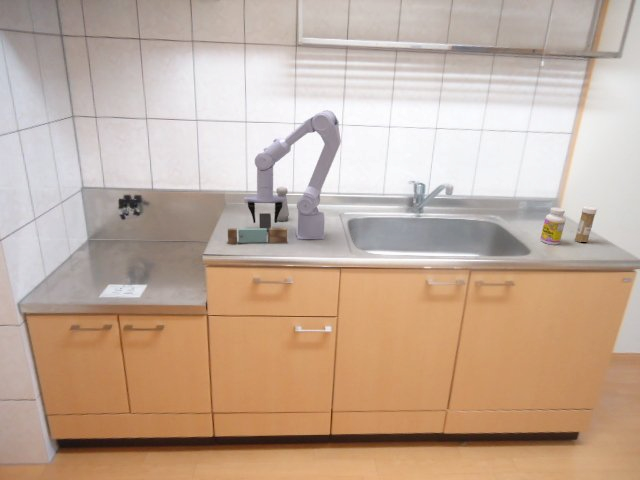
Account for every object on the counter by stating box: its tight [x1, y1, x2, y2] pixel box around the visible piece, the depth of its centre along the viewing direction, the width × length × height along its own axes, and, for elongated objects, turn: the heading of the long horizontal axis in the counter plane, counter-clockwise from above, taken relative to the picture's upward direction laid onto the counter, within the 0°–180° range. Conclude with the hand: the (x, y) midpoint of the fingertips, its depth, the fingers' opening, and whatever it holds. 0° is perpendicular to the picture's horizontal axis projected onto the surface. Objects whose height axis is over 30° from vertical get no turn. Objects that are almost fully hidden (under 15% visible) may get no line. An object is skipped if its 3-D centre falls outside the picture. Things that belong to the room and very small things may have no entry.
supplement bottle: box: [540, 206, 566, 246], centre depth 166 cm, size 7×7×13 cm
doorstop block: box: [258, 212, 272, 233], centre depth 166 cm, size 4×4×6 cm
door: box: [237, 227, 268, 244], centre depth 154 cm, size 10×2×5 cm, turn 99°
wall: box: [227, 227, 288, 245], centre depth 154 cm, size 20×2×5 cm, turn 99°
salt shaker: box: [273, 186, 290, 222], centre depth 176 cm, size 6×6×13 cm
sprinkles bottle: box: [574, 205, 598, 243], centre depth 168 cm, size 5×5×13 cm
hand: (264, 222), depth 165 cm, fingers open, 7 cm apart
